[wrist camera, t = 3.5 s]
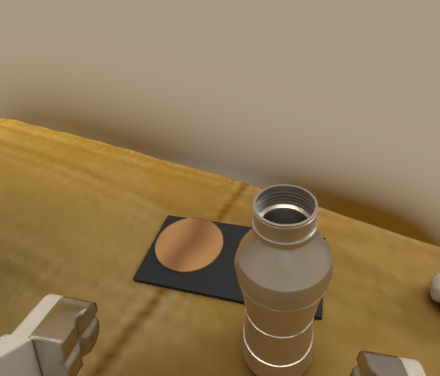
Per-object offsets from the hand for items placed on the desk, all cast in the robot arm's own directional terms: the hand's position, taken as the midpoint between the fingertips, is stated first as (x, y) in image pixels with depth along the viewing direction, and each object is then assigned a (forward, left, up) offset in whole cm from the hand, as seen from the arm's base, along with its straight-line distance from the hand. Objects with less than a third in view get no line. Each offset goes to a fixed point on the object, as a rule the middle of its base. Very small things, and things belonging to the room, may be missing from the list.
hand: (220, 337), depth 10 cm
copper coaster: (-12, +20, -23) cm, 33 cm away
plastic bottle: (+1, +9, -23) cm, 25 cm away
